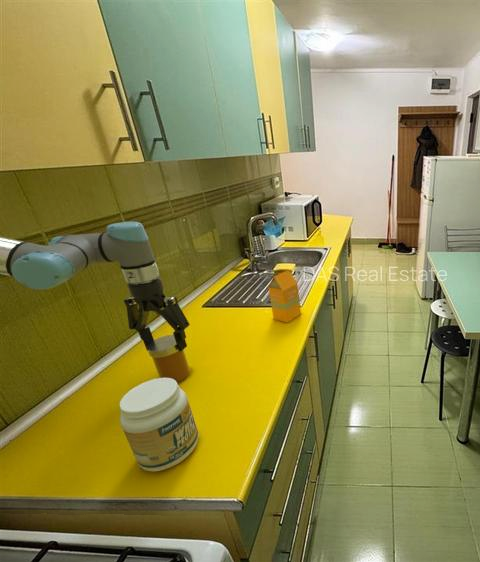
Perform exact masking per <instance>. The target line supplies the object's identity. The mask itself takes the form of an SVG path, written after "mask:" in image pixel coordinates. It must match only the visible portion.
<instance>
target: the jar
mask: <svg viewBox="0 0 480 562" xmlns="http://www.w3.org/2000/svg"><path fill="white" fill-rule="evenodd" d="M151 359H152V361H153V364H154V367H155V370H156V372H157V375H158V378H172V379H174V380H175V381H176V382H177V384H179V383H181V382H183V381H184V380H185V379H187V378H188V377H190V375H191V369H190V365H189V362H188V359H187V355H186V352H185V349H183V350H182V351H177V352H176V353H174V354H172V355H169V356H166V357H160V358H154V357H151Z"/></svg>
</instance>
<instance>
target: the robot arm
mask: <svg viewBox="0 0 480 562" xmlns="http://www.w3.org/2000/svg"><path fill="white" fill-rule="evenodd" d="M114 262H118V265H119V266H120V269H121V272H122V275H123V277H124V281H125V283H127V289H128V291H129V294H130V296H128V297H127V298H124V300H123V303H124V305H125V307H126V313H127V322H128V329H129V330H131V331H132V330H135V331H136V332H138V336H139V339H140V340H141V341H142V342H143V344H144V346H145V349H146V352H148V349H147V346H148V345H149V343H151V342H152V341H154V340H155V339H154V336H153V333H152V331H151V327H149V326H148V325H149V324H148V319H149V315H150V312H155V313H157V315H160V316H161V317H162V318H163V320H165V322H166V323H167V324H168V325H169V326H170V327H171V328H172V329H173V330H174V331H173V332H172V335H174V338H175V341H176V344H177V347H178V350H179V351H182V350H183V349H184V350H185V349H186V348H187V347H188V344H187V341H186V339H187V335H186V331H185V330H186V329H187V328H188V327H189V326H190V322H189V320H188V318H187V317H186V315H185V313H184V311H183V310H182V308H181V306H180V305H179V302H178V297H176V296H175V295H174V296H172V297H168V296H166V295H165V293H164V284H163V282H162V278H161V277H160V272H159V268H158V265H157V263H156V259H155V257H154V254H153V250H152V247H151V243H150V239H149V237H148V234H147V232H146V229H145V227H144V225H143V224H142V223H141V222H139V221H123V222H114V223H110V224H108V225H107V226H106V231H105V232H97V233H83V234H82V233H80V234H73V233H72V234H66V235H60V236H55V237H53V238H51V239H50V241H49V242H48V244H47V245H43V244H38V243H33V242H27V241H25V240H24V241H23V240H18V239H14V238H10V237H9V238H8V237H4V236H0V275H4V276H9V277H13V278H14V279H15V281H17V282H18V283H19V284H20V285H21V284H22V285H23V286H25V287H27V288H29V289H32V290H39V291H41V290H49V289H52V288H55V287H57V286H60V285H62V284H65V283H66V282H68V281H69V280H71V278H73V277H75V276H76V275H78V274H79V273H81V272H83V271H85V270H87V269H88V268H89V267H92V266H93V265H97V264H104V263H106V264H107V263H114Z"/></svg>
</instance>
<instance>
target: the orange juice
mask: <svg viewBox="0 0 480 562" xmlns="http://www.w3.org/2000/svg"><path fill="white" fill-rule="evenodd" d="M298 286H299V285H298V282H297V280H296V278H295V277H294V276H293V275H292V273H291V271H290V269H289V268H288V269H286V270H284V271H282V272H281V273H277V274H276V275H274V276H273V277H272V279H271V282H270V284H269V286H268V293H269V297H270V298H269V299H270V305H271V306H270V307H271V311H272V318H273V320H276V321H280V322H283V323H285V324H287V323H290V322H291V321H293V320H294V319H295V318H297V317H299V316H300V315H301V314H302V310H301V303H300V294H299V287H298Z"/></svg>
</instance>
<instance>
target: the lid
mask: <svg viewBox="0 0 480 562" xmlns="http://www.w3.org/2000/svg"><path fill="white" fill-rule="evenodd" d="M147 349H148V351H147V352H148V354H149V356H150V357H151V358H152V357H154V358H160V357H166V356H169V355H172V354H174V353H176V352H177V351H179V350H178V347H177V344H176V341H175V338H174V334H168V335H162V336H160V337H158V338H155V339H154V341H152V342H151V343H149V345H148V346H147Z"/></svg>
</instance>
